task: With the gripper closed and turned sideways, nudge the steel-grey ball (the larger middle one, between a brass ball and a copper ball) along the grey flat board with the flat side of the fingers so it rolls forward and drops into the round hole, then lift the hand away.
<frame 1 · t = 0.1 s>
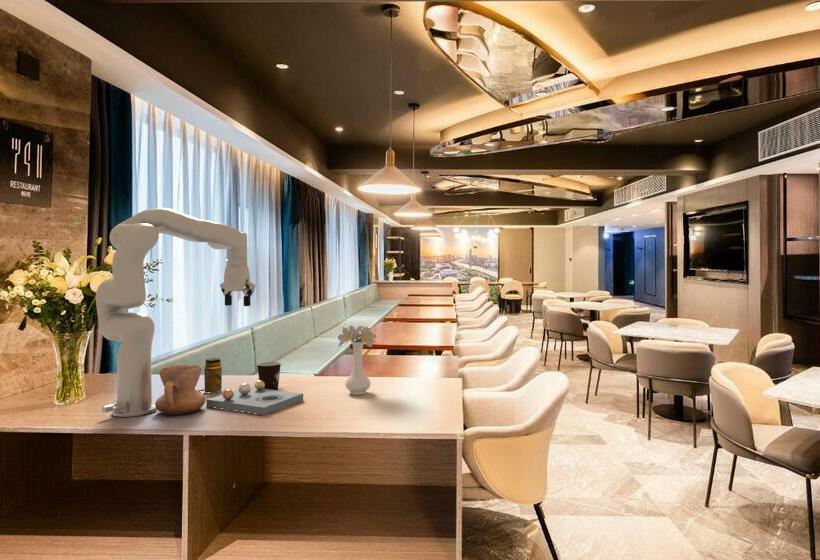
hand: (237, 305, 201), 31 cm above the table, tool pointing down, fingers open, 9 cm apart
steel ball: (244, 389, 172), point 4 cm above the table, touching grey flat board
copper ball: (228, 394, 166), point 4 cm above the table, touching grey flat board
condiment: (210, 391, 188), on the table
grey flat board: (256, 403, 170), on the table
ceramic jug: (179, 412, 160), on the table
flower vase: (357, 393, 186), on the table
brass ball: (259, 385, 179), point 4 cm above the table, touching grey flat board
coffee mug: (272, 389, 191), on the table
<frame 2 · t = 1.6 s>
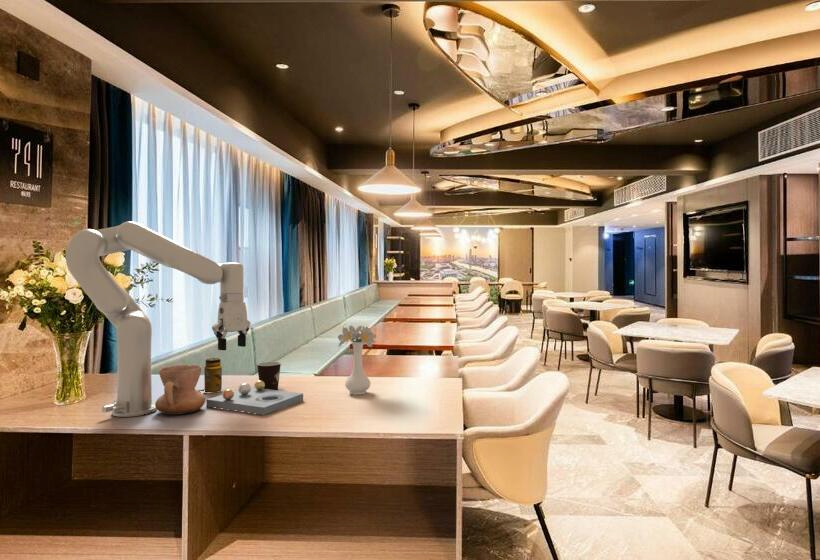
hand: (232, 348, 175), 18 cm above the table, tool pointing down, fingers open, 8 cm apart
nothing on the table moved.
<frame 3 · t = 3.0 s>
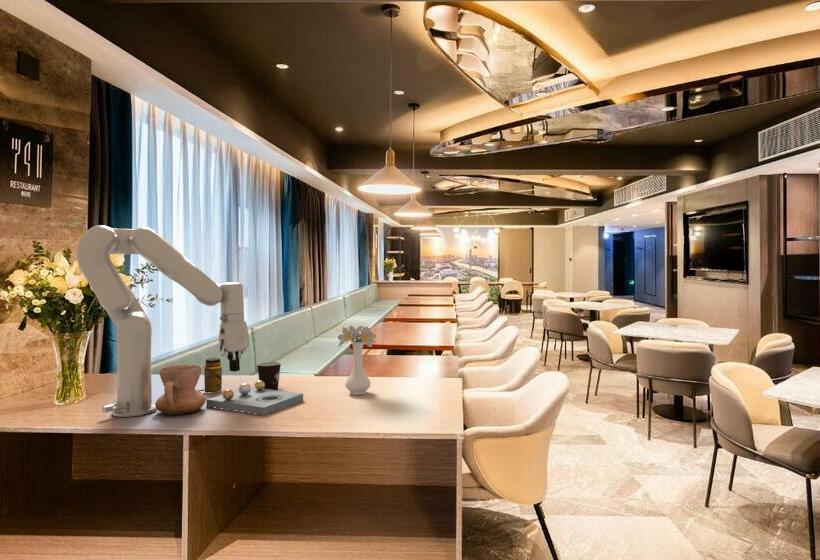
hand: (234, 370, 175), 10 cm above the table, tool pointing down, fingers closed
nothing on the table moved.
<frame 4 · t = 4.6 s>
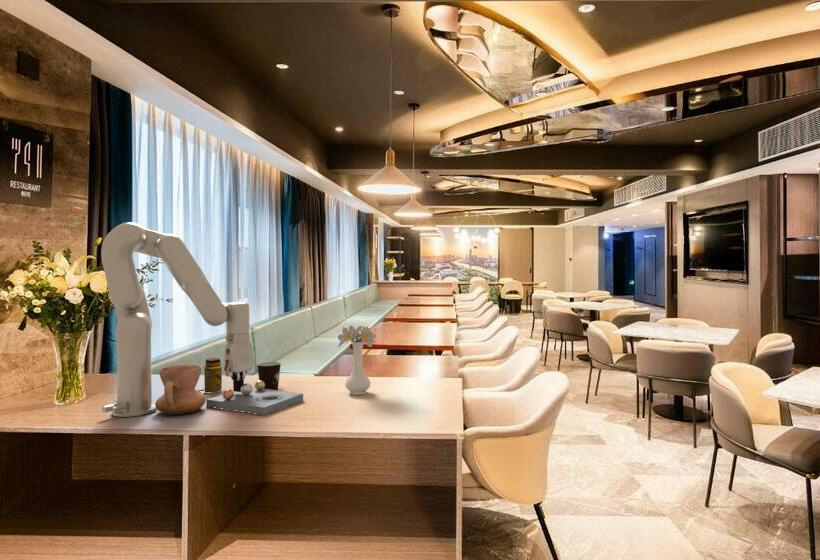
hand: (238, 391, 174), 3 cm above the table, tool pointing down, fingers closed
steel ball: (246, 389, 172), point 4 cm above the table, tilted 22°, touching grey flat board
everything else where it was.
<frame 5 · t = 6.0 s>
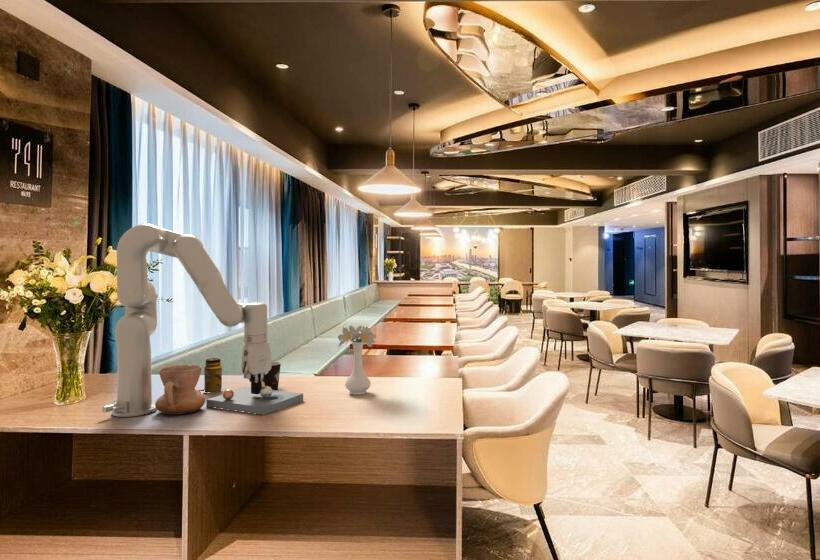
hand: (256, 393, 170), 4 cm above the table, tool pointing down, fingers closed
steel ball: (266, 391, 169), point 4 cm above the table, tilted 100°
everything else where it was.
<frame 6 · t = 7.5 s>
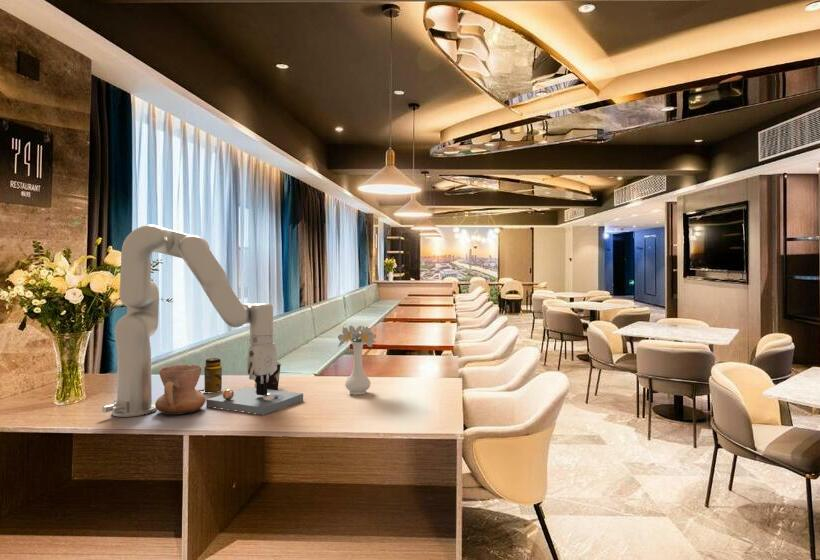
hand: (261, 394, 169), 3 cm above the table, tool pointing down, fingers closed
steel ball: (268, 399, 168), point 2 cm above the table, tilted 29°
everything else where it was.
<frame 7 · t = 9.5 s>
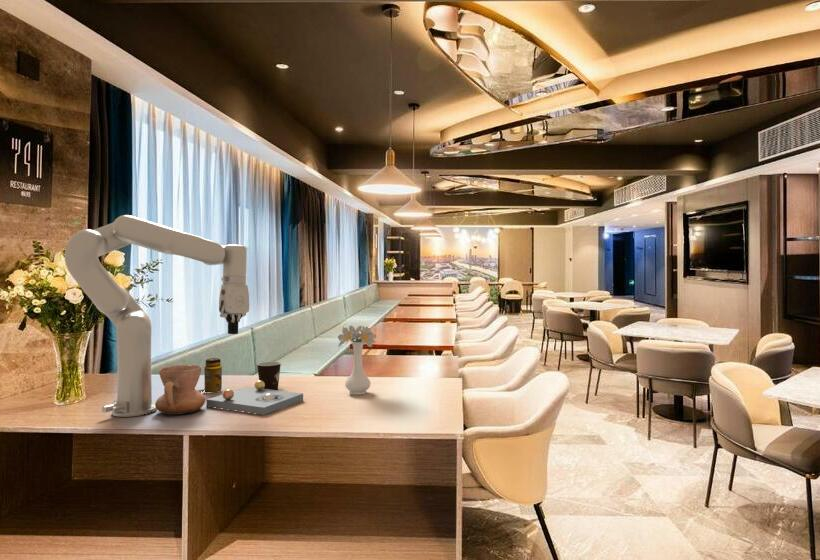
hand: (232, 333, 174), 23 cm above the table, tool pointing down, fingers closed
nothing on the table moved.
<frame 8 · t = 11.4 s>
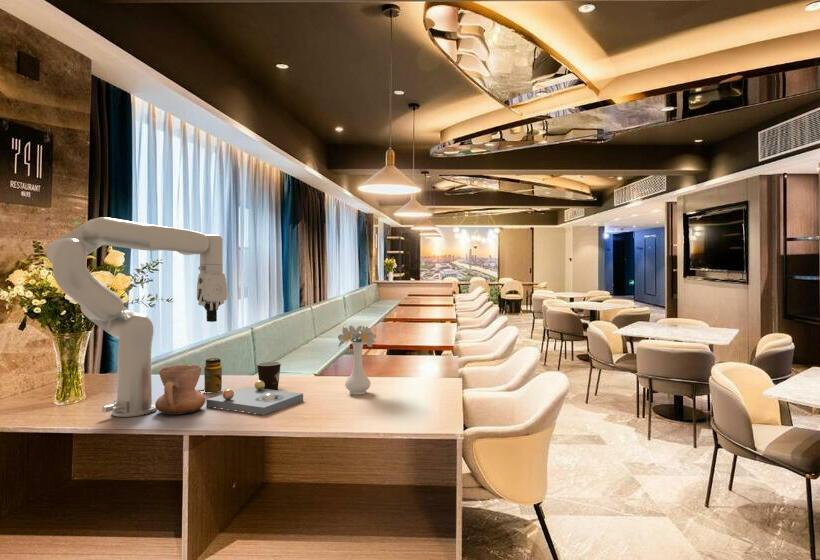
hand: (211, 321, 178), 27 cm above the table, tool pointing down, fingers closed
nothing on the table moved.
at the end: steel ball 0.5 cm from the target spot in the grey flat board, point 2.0 cm above the grey flat board's base; brass ball moved 0.1 cm from its start; copper ball moved 0.1 cm from its start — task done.
